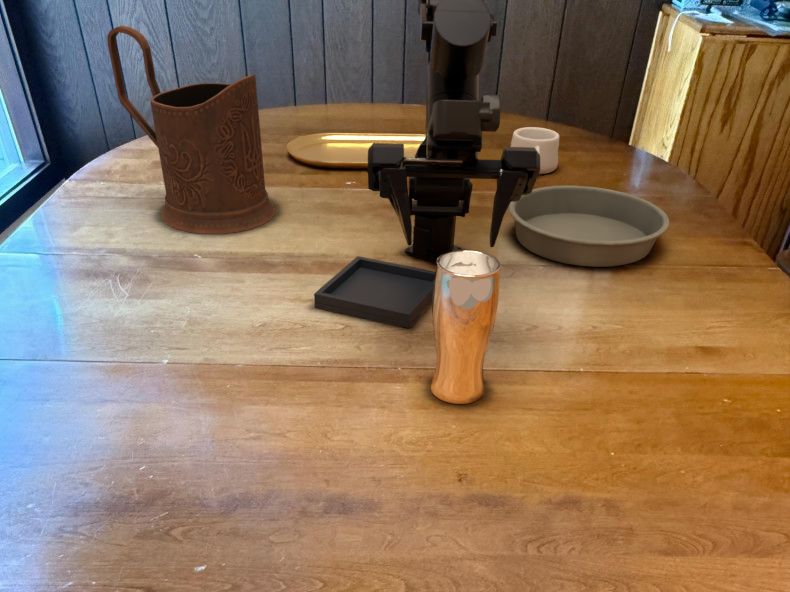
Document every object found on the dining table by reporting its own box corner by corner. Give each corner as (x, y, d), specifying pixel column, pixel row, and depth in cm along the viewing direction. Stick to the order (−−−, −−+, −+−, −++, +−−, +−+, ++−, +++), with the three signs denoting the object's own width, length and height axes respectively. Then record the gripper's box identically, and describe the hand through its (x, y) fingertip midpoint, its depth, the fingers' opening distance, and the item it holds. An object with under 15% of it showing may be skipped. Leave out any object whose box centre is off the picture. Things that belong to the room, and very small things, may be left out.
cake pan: (689, 268, 116) (697, 238, 113) (531, 276, 112) (535, 245, 109) (627, 209, 134) (633, 182, 131) (489, 214, 130) (492, 186, 127)
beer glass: (483, 410, 86) (499, 280, 76) (422, 402, 87) (429, 272, 77) (490, 378, 91) (506, 252, 81) (432, 371, 92) (440, 245, 82)
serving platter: (471, 172, 146) (472, 163, 145) (284, 170, 144) (284, 161, 143) (460, 142, 160) (460, 134, 159) (289, 140, 158) (289, 132, 157)
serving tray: (357, 269, 113) (357, 255, 111) (445, 287, 109) (446, 273, 108) (314, 307, 103) (313, 293, 102) (409, 328, 99) (409, 314, 98)
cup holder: (243, 241, 119) (222, 53, 102) (108, 218, 124) (67, 36, 108) (293, 201, 132) (282, 29, 115) (169, 182, 137) (141, 15, 121)
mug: (505, 158, 153) (509, 125, 149) (554, 160, 153) (559, 127, 149) (508, 178, 144) (512, 143, 140) (560, 180, 144) (566, 146, 140)
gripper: (367, 57, 78) (365, 209, 77) (551, 63, 78) (550, 214, 78) (369, 121, 89) (367, 254, 89) (530, 125, 90) (529, 258, 89)
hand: (451, 244), depth 86 cm, fingers open, 9 cm apart
